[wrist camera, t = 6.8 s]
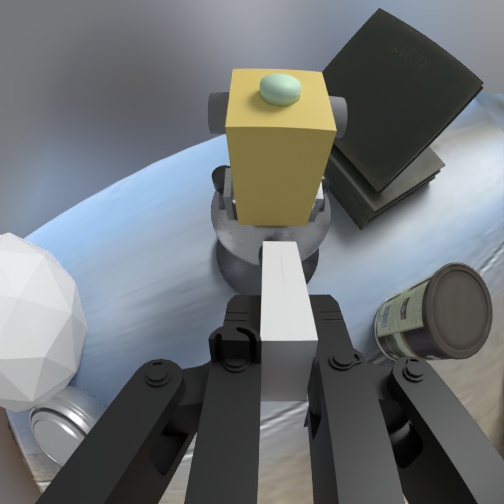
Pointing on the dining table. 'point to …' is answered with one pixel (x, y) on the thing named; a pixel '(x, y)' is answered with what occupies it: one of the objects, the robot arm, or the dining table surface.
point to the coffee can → (436, 317)
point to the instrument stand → (261, 235)
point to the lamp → (43, 347)
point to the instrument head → (277, 141)
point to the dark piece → (391, 113)
